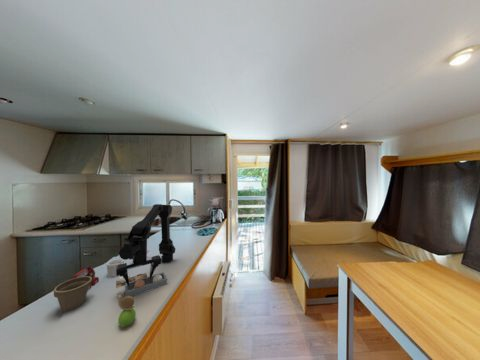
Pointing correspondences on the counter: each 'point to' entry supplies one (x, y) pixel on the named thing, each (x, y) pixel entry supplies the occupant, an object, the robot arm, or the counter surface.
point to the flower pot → (72, 292)
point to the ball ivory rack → (123, 279)
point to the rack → (131, 279)
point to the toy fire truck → (90, 273)
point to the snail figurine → (126, 310)
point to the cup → (113, 266)
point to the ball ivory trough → (157, 278)
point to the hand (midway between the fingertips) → (139, 281)
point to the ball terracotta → (139, 284)
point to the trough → (146, 287)
